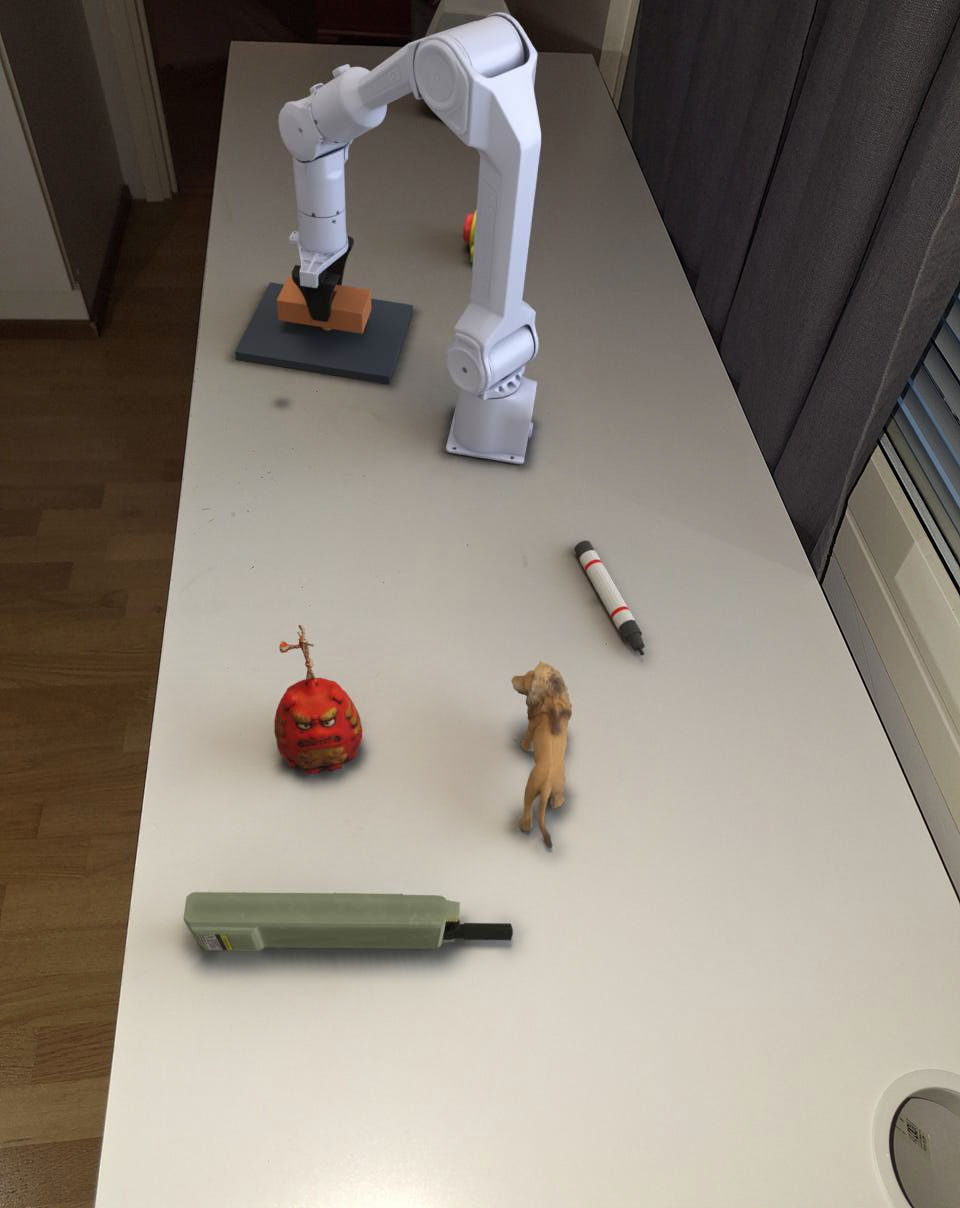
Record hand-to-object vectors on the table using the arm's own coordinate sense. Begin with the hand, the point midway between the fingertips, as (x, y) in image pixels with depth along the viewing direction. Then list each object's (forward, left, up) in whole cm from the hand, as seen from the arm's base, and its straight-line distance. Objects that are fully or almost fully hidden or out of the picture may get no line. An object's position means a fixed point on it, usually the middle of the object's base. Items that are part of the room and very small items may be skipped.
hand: (326, 305), depth 117 cm
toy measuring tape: (-18, -30, -5) cm, 35 cm away
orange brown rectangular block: (0, 0, -1) cm, 1 cm away
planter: (-9, -70, -5) cm, 71 cm away
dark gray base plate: (0, 0, -4) cm, 4 cm away
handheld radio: (-21, +76, -5) cm, 79 cm away
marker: (-40, +38, -5) cm, 55 cm away
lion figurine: (-34, +59, -5) cm, 68 cm away
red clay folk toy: (-14, +60, -5) cm, 62 cm away
